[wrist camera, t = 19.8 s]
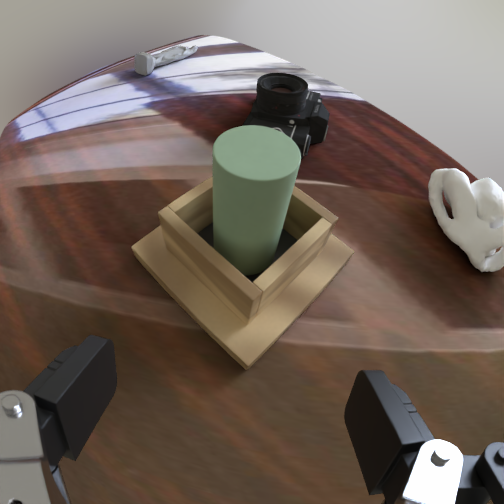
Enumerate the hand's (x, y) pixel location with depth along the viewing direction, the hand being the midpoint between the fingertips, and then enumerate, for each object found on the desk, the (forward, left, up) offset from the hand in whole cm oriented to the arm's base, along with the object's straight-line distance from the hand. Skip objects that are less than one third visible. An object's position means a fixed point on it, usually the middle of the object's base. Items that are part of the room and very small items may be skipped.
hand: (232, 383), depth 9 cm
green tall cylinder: (-8, -7, -9) cm, 14 cm away
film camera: (-25, -16, -11) cm, 31 cm away
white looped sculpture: (-28, +7, -11) cm, 30 cm away
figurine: (-26, -41, -11) cm, 50 cm away
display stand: (-9, -7, -11) cm, 15 cm away
